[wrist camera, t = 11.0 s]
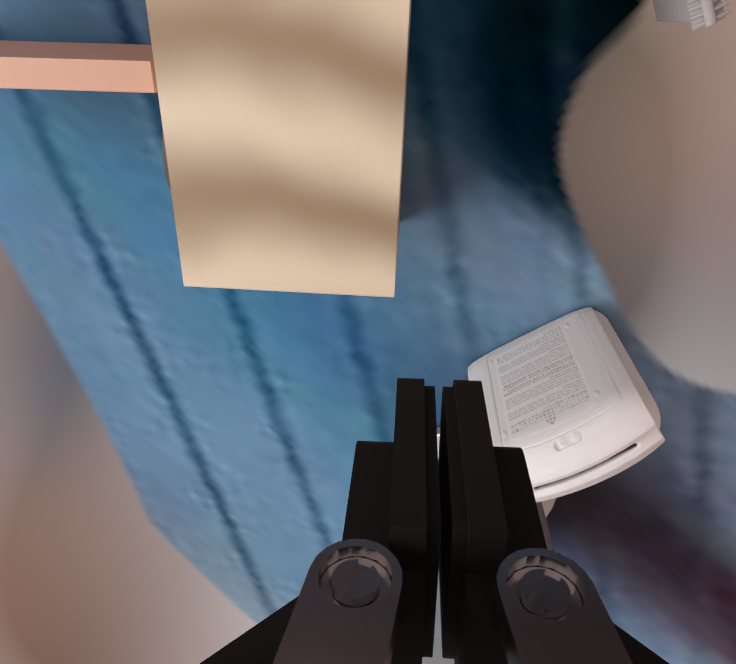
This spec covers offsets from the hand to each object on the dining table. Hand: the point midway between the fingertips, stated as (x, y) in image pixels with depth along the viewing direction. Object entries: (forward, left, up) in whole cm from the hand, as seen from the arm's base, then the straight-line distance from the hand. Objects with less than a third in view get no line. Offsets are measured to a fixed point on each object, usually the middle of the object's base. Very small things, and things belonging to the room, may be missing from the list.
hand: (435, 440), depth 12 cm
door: (+4, +19, -26) cm, 32 cm away
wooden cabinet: (+6, +6, -27) cm, 28 cm away
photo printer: (-13, -9, -27) cm, 31 cm away
